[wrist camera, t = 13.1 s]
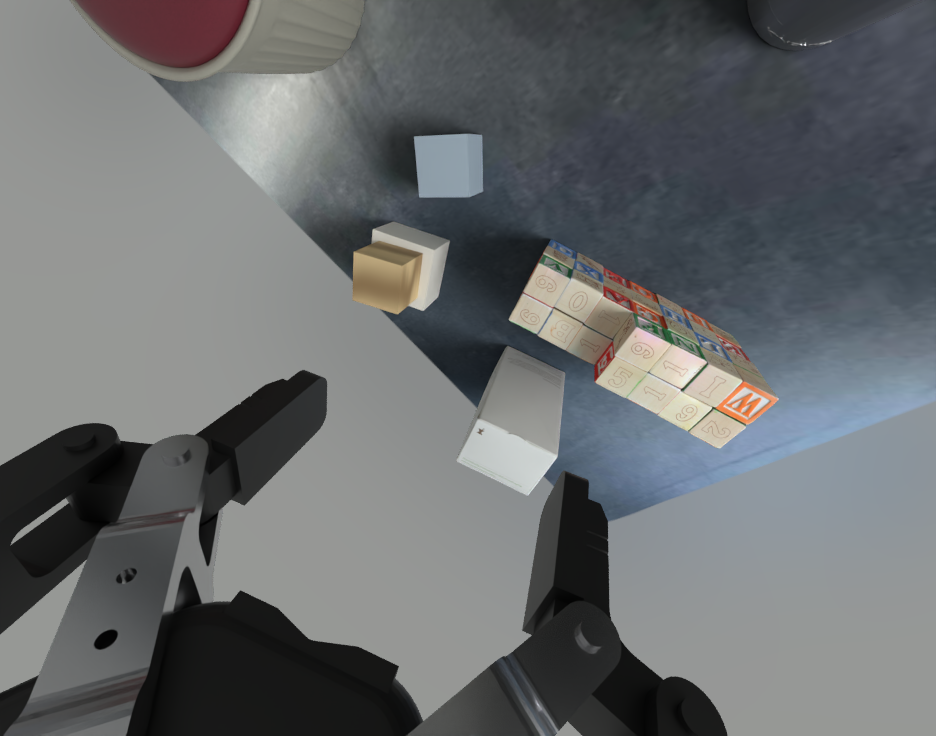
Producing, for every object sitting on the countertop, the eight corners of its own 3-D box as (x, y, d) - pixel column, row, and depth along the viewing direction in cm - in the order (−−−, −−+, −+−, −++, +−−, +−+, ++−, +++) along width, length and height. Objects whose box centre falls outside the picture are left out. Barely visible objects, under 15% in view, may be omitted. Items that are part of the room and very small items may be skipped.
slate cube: (434, 137, 38) (413, 136, 34) (482, 134, 37) (467, 133, 33) (437, 192, 41) (419, 197, 37) (483, 191, 39) (469, 197, 35)
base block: (394, 221, 44) (372, 229, 40) (450, 240, 43) (434, 250, 39) (387, 278, 48) (367, 290, 44) (438, 296, 47) (423, 311, 43)
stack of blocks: (523, 288, 43) (499, 332, 33) (551, 237, 40) (534, 269, 30) (691, 378, 43) (720, 452, 33) (735, 335, 39) (782, 401, 29)
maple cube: (379, 240, 40) (353, 251, 36) (422, 253, 39) (402, 266, 35) (376, 285, 43) (352, 300, 39) (417, 297, 42) (397, 314, 38)
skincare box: (488, 380, 51) (450, 461, 38) (508, 340, 47) (473, 415, 34) (545, 409, 50) (526, 500, 37) (570, 371, 46) (558, 458, 34)
